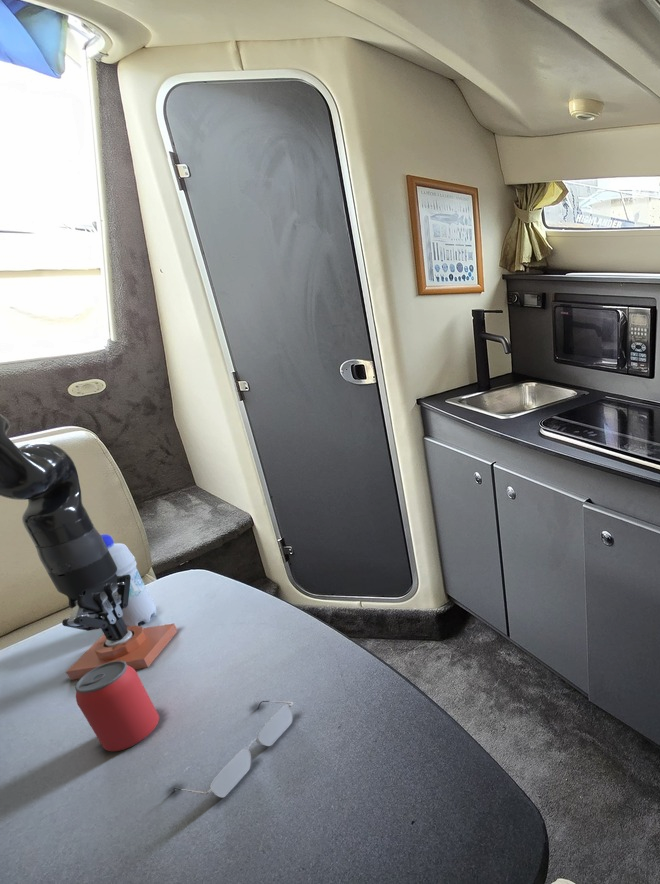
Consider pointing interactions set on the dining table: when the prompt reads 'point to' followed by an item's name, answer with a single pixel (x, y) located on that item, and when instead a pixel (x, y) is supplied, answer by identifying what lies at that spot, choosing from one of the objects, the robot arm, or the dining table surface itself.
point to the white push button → (118, 642)
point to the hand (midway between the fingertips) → (119, 637)
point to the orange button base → (125, 650)
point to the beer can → (116, 705)
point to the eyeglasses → (243, 758)
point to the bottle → (131, 585)
